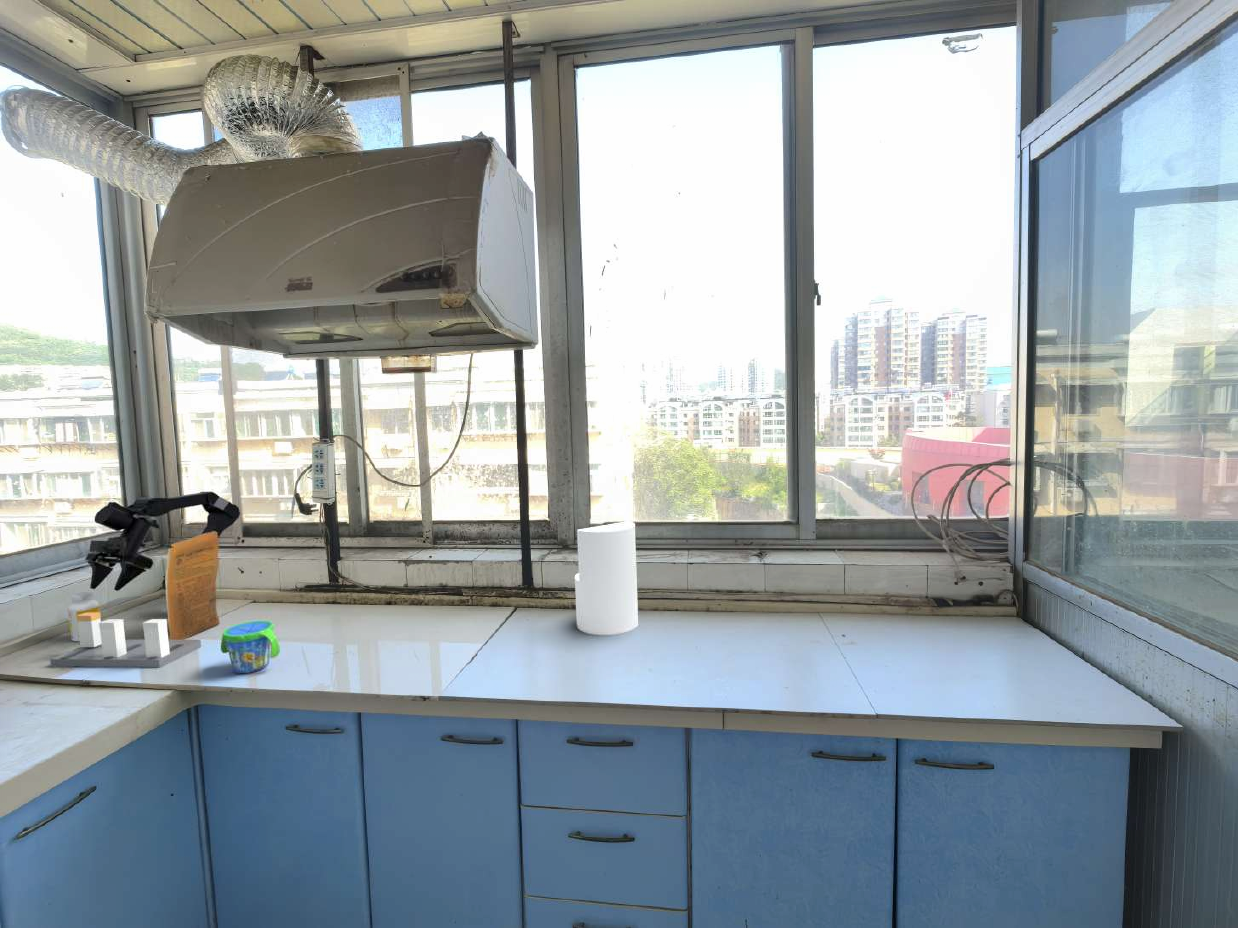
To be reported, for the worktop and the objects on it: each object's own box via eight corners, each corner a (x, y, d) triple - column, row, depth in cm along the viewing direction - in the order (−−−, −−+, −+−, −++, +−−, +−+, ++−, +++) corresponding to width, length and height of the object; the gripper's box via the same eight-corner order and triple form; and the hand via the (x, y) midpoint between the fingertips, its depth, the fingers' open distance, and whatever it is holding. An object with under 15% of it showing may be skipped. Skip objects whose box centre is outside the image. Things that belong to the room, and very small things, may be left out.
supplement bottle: (108, 633, 174) (103, 590, 173) (86, 642, 168) (80, 597, 166) (87, 633, 175) (82, 590, 174) (64, 642, 168) (59, 597, 167)
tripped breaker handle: (89, 643, 160) (86, 612, 159) (103, 643, 159) (100, 612, 158) (80, 647, 157) (76, 615, 156) (94, 647, 157) (90, 615, 156)
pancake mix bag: (235, 620, 182) (226, 529, 180) (179, 644, 163) (168, 544, 161) (216, 619, 183) (207, 529, 181) (158, 643, 165) (147, 543, 162)
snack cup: (294, 663, 148) (290, 623, 147) (254, 681, 138) (250, 639, 137) (249, 655, 154) (246, 617, 153) (208, 672, 144) (204, 632, 143)
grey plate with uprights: (100, 646, 164) (95, 607, 163) (201, 646, 161) (197, 607, 160) (50, 666, 151) (45, 624, 150) (159, 667, 148) (155, 624, 147)
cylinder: (650, 624, 165) (647, 525, 163) (598, 640, 156) (594, 534, 153) (615, 609, 180) (612, 517, 177) (565, 622, 170) (561, 525, 167)
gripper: (81, 525, 169) (50, 578, 162) (129, 527, 164) (99, 581, 157) (119, 540, 179) (91, 591, 171) (165, 542, 173) (138, 594, 166)
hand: (104, 589), depth 166 cm, fingers open, 9 cm apart
